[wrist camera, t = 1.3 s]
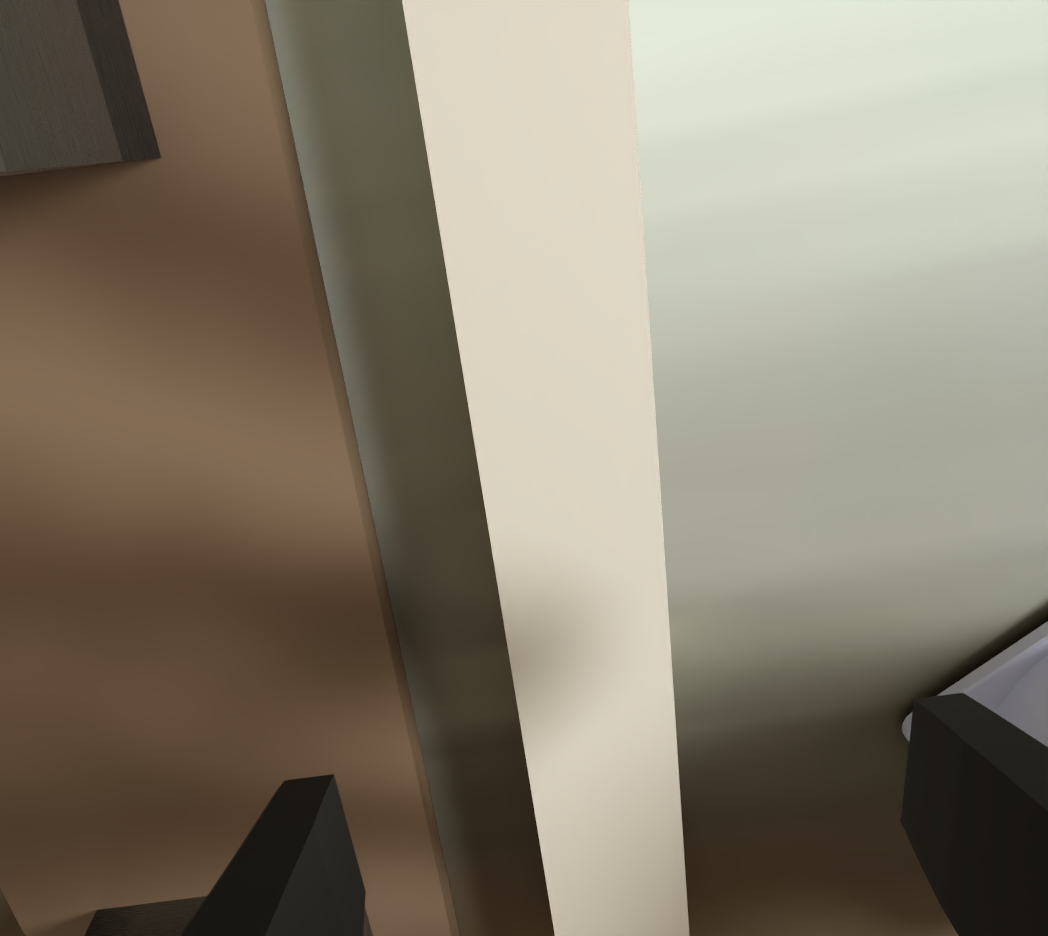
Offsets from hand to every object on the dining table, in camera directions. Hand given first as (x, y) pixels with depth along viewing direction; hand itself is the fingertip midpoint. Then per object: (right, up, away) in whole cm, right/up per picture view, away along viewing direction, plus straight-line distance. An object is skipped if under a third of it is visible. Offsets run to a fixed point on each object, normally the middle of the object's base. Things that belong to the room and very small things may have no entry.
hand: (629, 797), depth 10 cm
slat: (0, +3, +7) cm, 8 cm away
